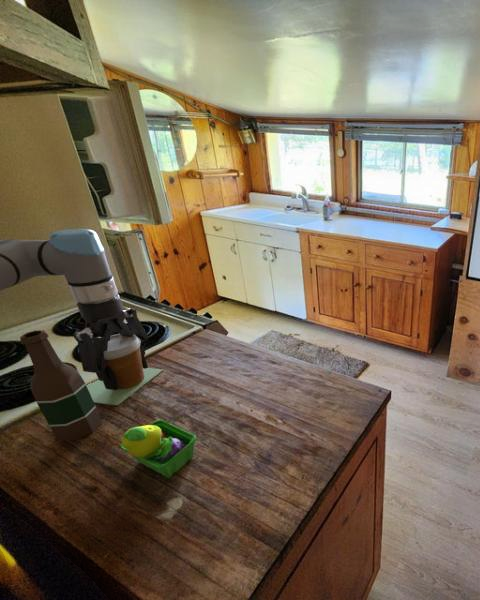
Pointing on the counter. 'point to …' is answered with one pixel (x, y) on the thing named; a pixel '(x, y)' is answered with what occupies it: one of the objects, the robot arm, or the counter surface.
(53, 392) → the beer bottle
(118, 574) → the counter surface
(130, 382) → the disposable coffee cup
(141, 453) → the fruit basket
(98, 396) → the mat
